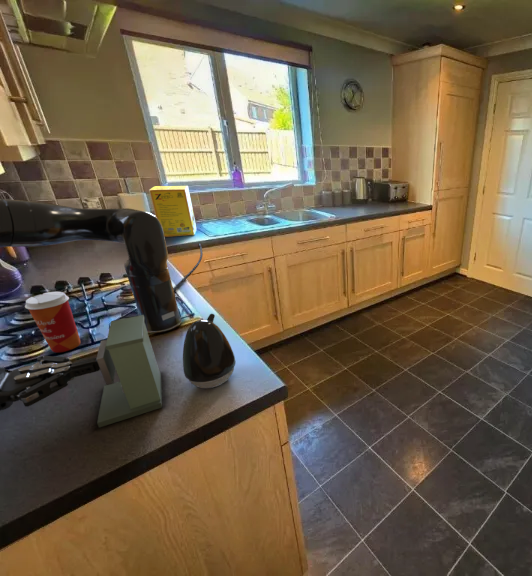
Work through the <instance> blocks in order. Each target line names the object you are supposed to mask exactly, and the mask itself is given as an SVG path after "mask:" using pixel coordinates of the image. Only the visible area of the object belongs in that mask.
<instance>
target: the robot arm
mask: <svg viewBox="0 0 532 576" xmlns="http://www.w3.org/2000/svg"><path fill="white" fill-rule="evenodd" d="M75 241H77V242H78V241H102V242H103V241H104V242H112V243H113V242H114V243H120V244H124V245H125V249H126V253H127V256H128V259H127V260H126V261H125V262H124V265H123V266H124V270H125V273H126V277H127V279H128V283H129V286H130V289H131V292H132V295H133V299H134V302H135V306H136V309H137V312H138V316H140V315H144V322H145V326H146V329H147V332H148V334H151V335H153V334H156V335H157V334H163V333H167V332H170V331H172V330H174V329H176V328H178V327H179V326H181V325H182V322H183V321H182V318H181V314H180V310H179V307H178V302H177V298H176V294H175V291H177V289H178V288H179V287H180V286H181V285H182V284H183V283H184V282H185V281H186V280H187V278H189V277H190V276H191V275H192V274H193V272H195V270H196V269H197V268H198V267H199V265H200V263H201V262H202V259H203V255H204V254H203V248H202V245H201V243H198V247H199V251H200V253H199V254H200V256H199V259H198V261H197V262H196V263H195V266H194V267H193V268H192V269H191V270H190V271H189V272H188V273H187V274H186V275H185V276H184V277H183V278H182V279H181V280H180V281H179V282H178V283H177V284H176V285H175V286H174V287H173V282H172V278H171V275H170V271H169V267H168V266H169V265H168V258H169V253H168V247H167V243H166V242H167V241H166V237H165V236H164V232H163V228H162V226H161V223H160V221H159V220H158V219H157V218H156V216H155V214H153V213H150V212H148V211H145V210H140V209H135V208H129V207H127V208H80V207H79V208H78V207H72V206H65V205H60V204H54V203H48V202H47V203H46V202H38V201H31V200H22V199H21V200H19V199H10V198H9V199H7V198H0V248H5V247H7V248H8V247H10V248H12V247H13V248H14V247H16V248H17V247H19V248H21V247H22V248H23V247H27V248H28V247H44V246H54V245H60V244H66V243H71V242H75ZM96 359H97V357H92V358H89V359H83V360H80V361H76V362H72V361H71V359H70V357H64V356H53V355H40V356H38V357H37V358H36V360H37V362H35V363H34V364H32V365H25V366H20V367H19V368H16V369H12V370H10V369H7V368H5V367H3V366H0V411H4V410H7V409H9V408H10V407H12V405H13V404H14V403H15V402H19V401H21V402H22V403H23V406H24V407H30V406H34V405H35V404H36V403H39V402H40V401H42V400H44V399H46V398H47V397H49V396H51V395H53V394H55V393H57V392H58V391H61V390H62V389H64V388H66V387H67V386H69V383H68V382H70V381H73V380H74V379H75V378H76V377H80V376H84V375H85V376H86V375H88V374H92V373H97V372H99V371H101V370H100V367H99V365H98V362H97V360H96Z"/></svg>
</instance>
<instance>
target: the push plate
mask: <svg viewBox="0 0 532 576" xmlns="http://www.w3.org/2000/svg"><path fill="white" fill-rule="evenodd" d="M106 342H107V339H104V340H103V339H102V340H100V343H99V347H98V351H97V355H96V358H97V359H96V360H97V362H98V365H99V367H100V370H99V371H100V373H101V375H102V378H103V380H104V383H105V385H110V384H113V383H114V380H115V374H116V368H115V366H114V363H113V360H112V358H111V355H110V352H109V350H107V349H106Z"/></svg>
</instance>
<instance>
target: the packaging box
mask: <svg viewBox="0 0 532 576" xmlns="http://www.w3.org/2000/svg"><path fill="white" fill-rule="evenodd" d="M189 189H190V188H189V185H157V186H153V187H151V188H149V189H148V193H149V196H150V201H151V205H152V209H153V212H154V216H155V217H156V218H157V219H158V220H159V221H160V223H161V226H162V228H163V232H164V236H165V238H169V237H171V238H172V237H184V236H195V234H196V232H197V224H196V219H195V213H194V209H193V203H192V199H191V194H190V190H189Z"/></svg>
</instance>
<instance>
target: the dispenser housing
mask: <svg viewBox="0 0 532 576" xmlns="http://www.w3.org/2000/svg"><path fill="white" fill-rule="evenodd" d="M106 340H107V342H106V349H107V350H109V352H110V355H111V358H112V360H113V363H114V366H115V372H116V374H117V376H118V379H119V381H116V382H113V384H110V385H106V384H105V385H103V390H102V396H101V400H100V404H99V409H98V416H97V421H96V422H97V423H96V424H97V426H98V428H103V427H106V426H109V425H112V424H115V423H118V422H121V421H124V420H127V419H131V418H134V417H137V416H140V415H143V414H147V413H149V412H154V411H155V410H159V409H162V408H163V392H162V391H163V390H162V374H161V370H160V368H159V366H158V362H157V359H156V356H155V353H154V349H153V346H152V342H151V339H150V337H149V333H148V332H147V329H146V326H145V322H144V315H140V316H139V315H135V316H130V317H126V318H120V319H115V320H111V321H110V325H109V329H108V333H107V338H106Z"/></svg>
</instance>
